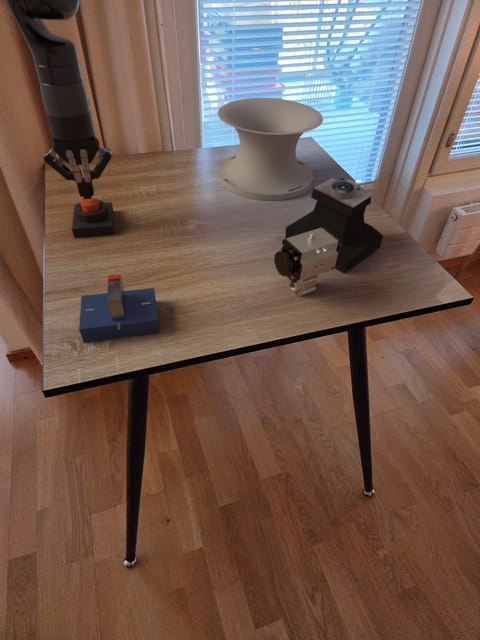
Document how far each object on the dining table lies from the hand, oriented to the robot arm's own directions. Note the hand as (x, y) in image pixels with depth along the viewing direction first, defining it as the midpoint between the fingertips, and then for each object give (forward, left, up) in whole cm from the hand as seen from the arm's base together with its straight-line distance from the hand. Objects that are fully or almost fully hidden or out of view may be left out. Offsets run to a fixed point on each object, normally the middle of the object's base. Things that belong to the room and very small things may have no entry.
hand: (88, 197), depth 86 cm
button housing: (0, 0, -6) cm, 6 cm away
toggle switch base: (+5, -31, -6) cm, 33 cm away
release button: (0, 0, -3) cm, 3 cm away
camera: (+50, -15, -7) cm, 53 cm away
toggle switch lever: (+5, -31, -3) cm, 32 cm away
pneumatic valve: (+38, -29, -7) cm, 49 cm away
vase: (+43, +17, -7) cm, 47 cm away
